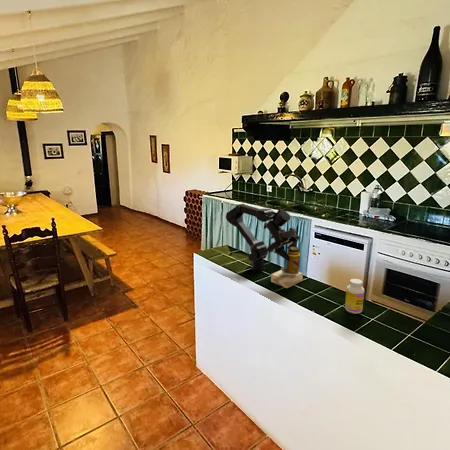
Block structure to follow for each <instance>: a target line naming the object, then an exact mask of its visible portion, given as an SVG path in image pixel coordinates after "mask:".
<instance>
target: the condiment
mask: <svg viewBox="0 0 450 450" xmlns="http://www.w3.org/2000/svg"><path fill="white" fill-rule="evenodd" d="M286 253H287V255H288V257H289V259H290V260H289V261H287V260H286V266H285V267H283V266H282V267H280V270H282V274H296V275H297V274H298V275H300V262H301V261H300V260H301V259H300V258H301V254H300V248H299V247H297V246H296V247H289V248H287V252H286Z"/></svg>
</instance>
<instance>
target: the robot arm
mask: <svg viewBox="0 0 450 450" xmlns="http://www.w3.org/2000/svg"><path fill="white" fill-rule="evenodd" d="M244 214H246V215H249V216H252V217H255V218H256V219H257V220H258V221H259V222H262V223H263V224H264V225H263V230H266V229H267V230H268V232H269V233H270V235H271V236H270V238H271V239H273V240H274V241H273V242H272V243H270V245H266V243H265V242H264V241H263V240H261V241H258V240H257V238H256V237H255V235H254V234H253V233H252V232H251V230H250V228H248V226H247V225H246V223H245V222H244V220H243V215H244ZM225 219H226V221H227V222H228V223H229V224H230V225H232V226H233V227H235V228H236V229H237V231H238V232H239V234H241V236H242V238H243V239H244V240H245V241H246V243H247V244H248V246H249V250H250V254H248V256H247V257H248V260H249V261H251V263H250V265H251V267H250V268H248V270H250V271H253V272H255V273H260V272H265V271H266V270H267V269H266V268H265V262H264V260H265V259H266V258H267V256H268V253H269V254H270V253H273V254H276V255H278V256H280V257H281V258H283V259H285V261H286V262H287V261H289V260H290V259H289V257H288V255H287V253H288V252H287V251H286V250H285V246H286V245H287V246H286V248H287V249H288V248H289V247H297V243H298V241H300V240H301V238H300V235H297V230H296V228H295V227H294V226H293V227H290V228H288V229H289V230H286V229H282V227H283V226H284V225H286V224H287V223H288V222H289V221H290V219H291V215H290V213H288V212H287V211H286V210H284V208H280V209H278V210H277V211H276V212H275V211H274V210H273V209H272V208H259V207H253V206H251V205H248V204H245V203H240V204H236V205H235V207H233V208H232V209H231V210H229V211H227V212H226V214H225Z"/></svg>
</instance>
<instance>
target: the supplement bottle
mask: <svg viewBox="0 0 450 450" xmlns="http://www.w3.org/2000/svg"><path fill="white" fill-rule="evenodd" d="M364 298H365V288H364V287H363V280H361V279H359V278H351V279H350V280H349V285H347V287H346V292H345V304H344V308H345V310H346V311H347V312H348V313H350V314H355V315H356V314H361V313H362V312H363V309H364V300H365V299H364Z"/></svg>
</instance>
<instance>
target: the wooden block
mask: <svg viewBox="0 0 450 450" xmlns="http://www.w3.org/2000/svg"><path fill="white" fill-rule="evenodd" d="M303 276H304V273H303V272H300V275H298V274H297V275H296V274H282V269H280V270H278V271H275V272H272V273H271V274H270V282H271V283H274V284H275V285H277V286H281V287H283V288H285V289H288V288H290V287H292V286H293V287H294V286H295V285H297V284H299V283H301V282H303V279H304V277H303Z"/></svg>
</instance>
